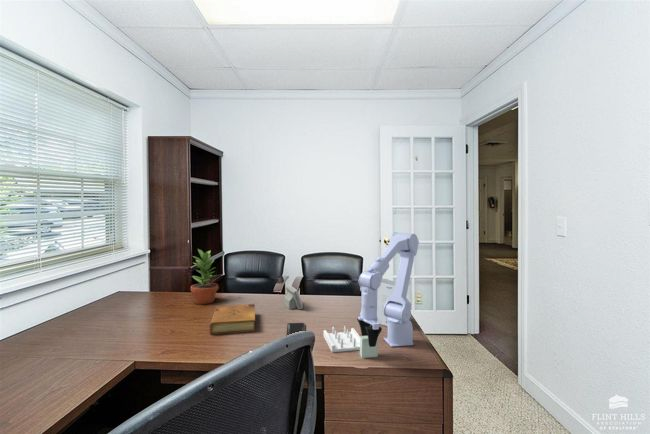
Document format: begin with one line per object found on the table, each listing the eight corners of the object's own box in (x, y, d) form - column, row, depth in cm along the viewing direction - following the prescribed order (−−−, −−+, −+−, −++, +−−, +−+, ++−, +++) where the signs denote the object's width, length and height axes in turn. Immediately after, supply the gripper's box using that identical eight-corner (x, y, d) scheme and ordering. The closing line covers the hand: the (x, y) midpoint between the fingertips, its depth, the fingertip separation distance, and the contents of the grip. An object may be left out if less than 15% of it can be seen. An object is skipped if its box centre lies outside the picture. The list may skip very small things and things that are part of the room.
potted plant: (214, 305, 179) (213, 250, 178) (186, 305, 179) (185, 250, 178) (222, 297, 194) (222, 246, 192) (197, 297, 194) (196, 246, 193)
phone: (286, 335, 136) (287, 322, 151) (286, 338, 136) (287, 325, 151) (305, 335, 137) (304, 322, 152) (305, 338, 137) (304, 325, 152)
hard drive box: (403, 324, 152) (404, 281, 151) (394, 329, 147) (395, 284, 146) (375, 316, 163) (376, 276, 162) (366, 320, 157) (366, 279, 156)
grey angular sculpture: (303, 310, 172) (303, 290, 171) (286, 311, 170) (286, 291, 169) (299, 301, 187) (299, 282, 187) (283, 302, 186) (283, 283, 185)
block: (375, 353, 122) (375, 335, 122) (377, 356, 120) (377, 337, 120) (359, 355, 121) (359, 336, 121) (361, 358, 119) (362, 339, 118)
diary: (215, 317, 161) (215, 306, 161) (254, 315, 165) (254, 304, 165) (209, 335, 139) (209, 322, 138) (255, 332, 143) (255, 319, 143)
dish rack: (353, 333, 141) (353, 324, 141) (365, 349, 126) (365, 339, 125) (323, 336, 138) (323, 326, 138) (332, 352, 123) (332, 341, 123)
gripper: (352, 299, 126) (352, 335, 126) (365, 311, 112) (364, 351, 112) (370, 299, 127) (369, 333, 128) (384, 310, 113) (384, 349, 114)
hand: (368, 341), depth 120 cm, fingers open, 7 cm apart
